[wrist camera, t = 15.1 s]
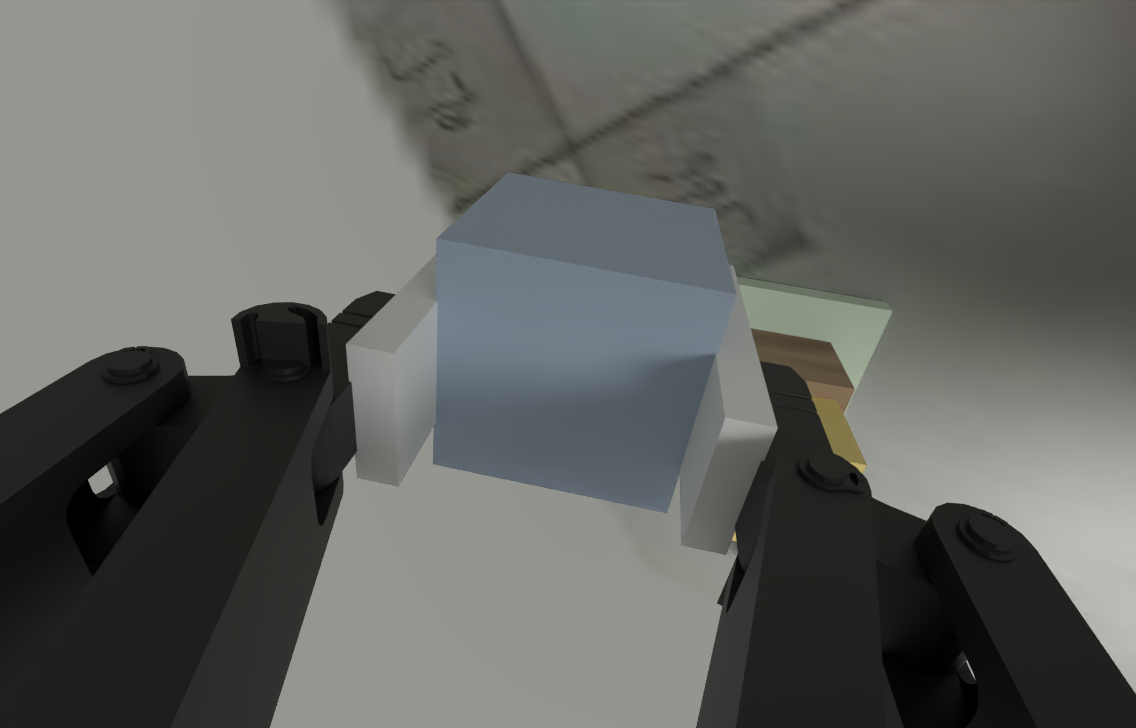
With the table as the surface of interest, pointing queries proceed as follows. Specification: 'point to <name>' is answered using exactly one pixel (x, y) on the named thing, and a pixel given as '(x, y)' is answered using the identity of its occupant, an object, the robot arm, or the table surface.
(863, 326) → the build plate
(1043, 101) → the table surface
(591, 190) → the blue cube
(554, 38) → the table surface
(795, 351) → the walnut base
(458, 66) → the table surface
